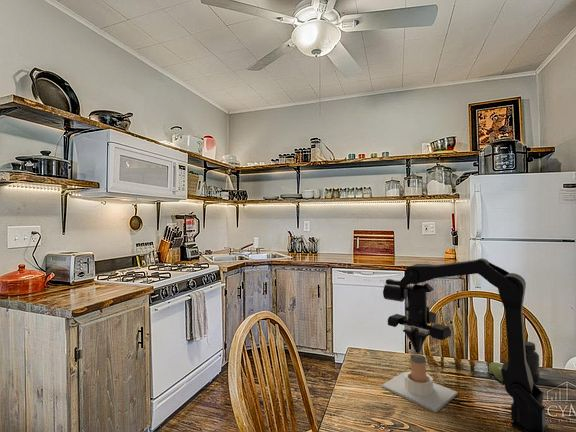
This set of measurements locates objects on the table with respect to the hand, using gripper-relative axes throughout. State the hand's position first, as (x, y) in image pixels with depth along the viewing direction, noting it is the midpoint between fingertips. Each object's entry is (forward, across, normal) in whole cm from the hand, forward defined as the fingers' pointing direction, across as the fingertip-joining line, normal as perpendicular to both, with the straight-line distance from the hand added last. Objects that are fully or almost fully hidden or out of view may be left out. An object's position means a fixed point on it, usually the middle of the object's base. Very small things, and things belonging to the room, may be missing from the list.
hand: (418, 352), depth 103 cm
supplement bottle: (+12, -20, -35) cm, 42 cm away
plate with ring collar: (+12, 0, 0) cm, 12 cm away
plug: (+11, 0, 0) cm, 11 cm away
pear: (+13, -14, -29) cm, 34 cm away
